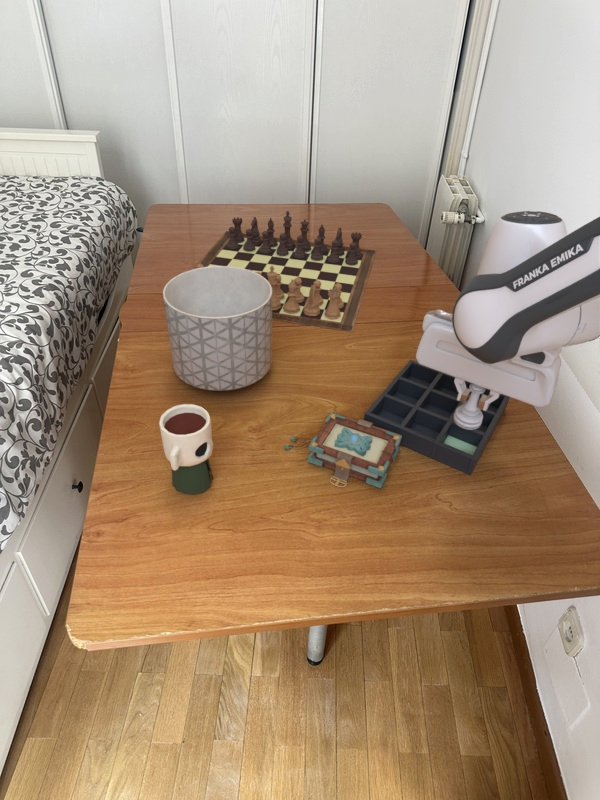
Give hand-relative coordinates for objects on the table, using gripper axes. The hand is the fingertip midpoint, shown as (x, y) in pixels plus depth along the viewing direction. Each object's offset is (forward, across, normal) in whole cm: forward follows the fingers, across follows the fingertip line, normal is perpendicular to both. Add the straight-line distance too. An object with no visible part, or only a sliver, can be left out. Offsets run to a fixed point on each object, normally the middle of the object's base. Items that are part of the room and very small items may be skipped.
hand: (472, 403), depth 84 cm
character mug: (+11, -32, -30) cm, 45 cm away
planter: (+11, -46, -5) cm, 48 cm away
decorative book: (+11, -16, -12) cm, 23 cm away
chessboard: (+11, -61, +38) cm, 73 cm away
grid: (+11, -6, +6) cm, 14 cm away
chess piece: (+4, 0, 0) cm, 4 cm away
